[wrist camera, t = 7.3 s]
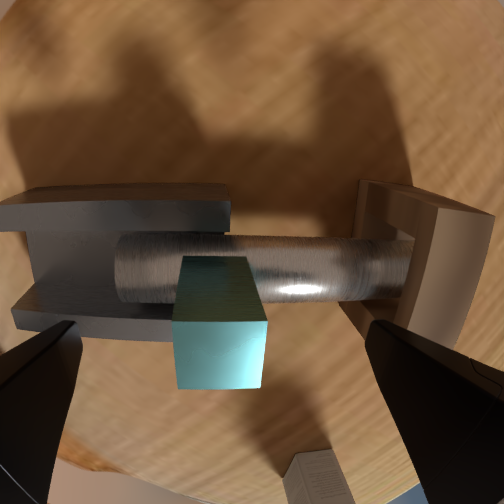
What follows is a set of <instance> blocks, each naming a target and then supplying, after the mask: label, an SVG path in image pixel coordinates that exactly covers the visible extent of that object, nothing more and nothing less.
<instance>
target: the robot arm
mask: <svg viewBox="0 0 504 504" xmlns="http://www.w3.org/2000/svg"><path fill="white" fill-rule="evenodd" d="M365 349H366V352H367V355H368V357H369V360H370V363H371V366H372V369H373V372H374V375H375V378H376V381H377V383H378V386H379V388H380V391H381V393H382V395H383V397H384V399H385V401H386V404H387V406H388V408H389V410H390V412H391V415H392V417H393V419H394V421H395V423H396V426H397V428H398V430H399V433H400V435H401V437H402V439H403V442H404V444H405V446H406V449H407V451H408V453H409V456H410V458H411V461H412V463H413V465H414V468H415V470H416V473H417V475H418V478H419V480H420V483H421V485H422V487H423V489H424V493H425V496H426V498H427V501H428V503H429V504H504V372H503V371H500V370H498V369H495V368H493V367H490V366H488V365H485V364H483V363H481V362H478V361H476V360H474V359H472V358H469V357H467V356H465V355H463V354H460V353H458V352H456V351H454V350H451V349H449V348H447V347H445V346H443V345H440V344H438V343H436V342H434V341H432V340H429V339H427V338H425V337H423V336H420V335H418V334H416V333H414V332H412V331H409V330H407V329H405V328H403V327H401V326H398V325H396V324H394V323H392V322H390V321H387V320H385V319H376V320H372V321H371V323H370V326H369V329H368V332H367V336H366V339H365ZM82 351H83V344H82V340H81V336H80V332H79V328H78V325H77V323H76V322H75V321H72V320H62V321H61V322H59V323H57V324H55V325H53V326H52V327H50V328H48V329H46V330H44V331H43V332H41V333H39V334H37V335H35V336H34V337H32V338H30V339H28V340H27V341H25V342H23V343H21V344H20V345H18V346H16V347H14V348H13V349H11V350H9V351H7V352H6V353H4V354H2V355H1V356H0V504H47V499H48V494H49V489H50V483H51V478H52V473H53V469H54V464H55V460H56V455H57V451H58V447H59V443H60V439H61V435H62V431H63V428H64V424H65V421H66V417H67V413H68V410H69V407H70V403H71V400H72V397H73V393H74V389H75V384H76V379H77V374H78V369H79V365H80V360H81V356H82Z"/></svg>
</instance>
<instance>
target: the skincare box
mask: <svg viewBox="0 0 504 504" xmlns="http://www.w3.org/2000/svg"><path fill="white" fill-rule="evenodd" d="M282 481H283V485H284V489H285V492H286V496H287V500H288V504H355V501H354V499H353V496H352V494H351V491H350V489H349V487H348V484H347V482H346V479H345V477H344V475H343V472H342V470H341V467H340V465H339V463H338V460H337V458H336V455H335V453H334V451H333V450H332V449H328V450H321V451H313V452H304V453H297V454H295V456H294V458H293V460H292V462H291V464H290V466H289V468H288V470H287V472H286V474H285V476H284V478H283V480H282Z"/></svg>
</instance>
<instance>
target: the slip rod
mask: <svg viewBox="0 0 504 504" xmlns="http://www.w3.org/2000/svg"><path fill="white" fill-rule="evenodd" d="M414 242H415V241H413V240H389V239H362V238H333V237H299V236H260V235H208V234H122V235H121V236H120V238H119V240H118V243H117V248H116V253H115V266H114V272H115V284H116V290H117V294H118V297H119V299H120V300H121V301H122V302H140V303H174V309H173V315H172V321H171V322H172V335H173V346H174V357H175V367H176V376H177V385H178V389H246V388H260V384H261V376H262V367H263V359H264V350H265V341H266V332H267V323H268V321H267V318H266V315H265V312H264V309H263V306H262V304H268V303H308V302H334V301H355V300H373V299H389V298H401V295H402V291H403V288H404V284H405V280H406V276H407V272H408V268H409V264H410V260H411V256H412V251H413V247H414Z"/></svg>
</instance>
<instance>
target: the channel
mask: <svg viewBox="0 0 504 504" xmlns="http://www.w3.org/2000/svg"><path fill="white" fill-rule="evenodd" d="M230 213H231V200H230V197H229V194H228V191H227V189H226V186H225V184H197V183H132V184H95V185H73V186H55V187H40V188H33V189H31V190H28V191H25V192H23V193H20V194H18V195H15V196H13V197H10V198H8V199H6V200H3V201H1V202H0V232H6V231H26V237H27V244H28V250H29V256H30V262H31V267H32V272H33V277H34V282H35V283H34V284H33V286H32V287H31V288H30V289H29V290H28V291H27V292H26V293H25V294H24V295H23V296H22V297H21V298H20V299H19V300H18V301H17V302H16V304H15V305H14V306H13V307H12V308H11V312H12V315H13V318H14V322H15V325H16V328H17V329H21V330H28V331H35V332H43V331H44V330H46V329H48V328H50V327H52V326H53V325H55V324H57V323H59V322H61V321H62V320H72V321H75V322H76V323H77V325H78V328H79V332H80V336H81V337H90V338H102V339H117V340H134V341H156V342H173V335H172V322H171V321H172V315H173V309H174V303H140V302H122V301H121V300H120V299H119V297H118V294H117V290H116V284H115V272H114V266H115V253H116V248H117V243H118V240H119V238H120V236H121V235H122V234H208V235H224V234H225V232H230Z"/></svg>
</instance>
